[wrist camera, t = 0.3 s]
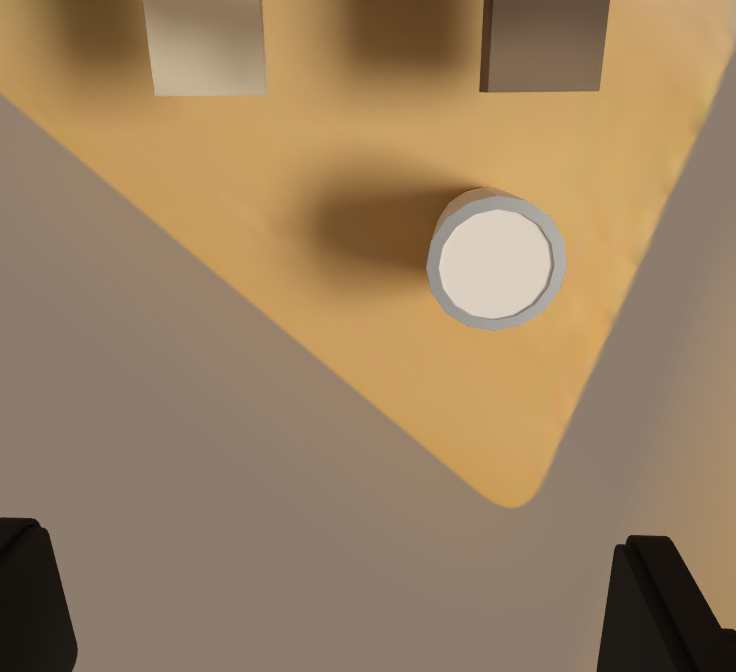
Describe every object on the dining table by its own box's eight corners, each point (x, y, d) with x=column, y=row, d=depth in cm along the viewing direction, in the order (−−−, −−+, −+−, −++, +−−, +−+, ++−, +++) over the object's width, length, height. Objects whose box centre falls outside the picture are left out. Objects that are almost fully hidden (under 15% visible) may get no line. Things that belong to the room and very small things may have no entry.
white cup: (407, 267, 38) (405, 304, 32) (451, 158, 36) (458, 174, 29) (511, 306, 39) (530, 350, 32) (561, 201, 36) (593, 226, 30)
